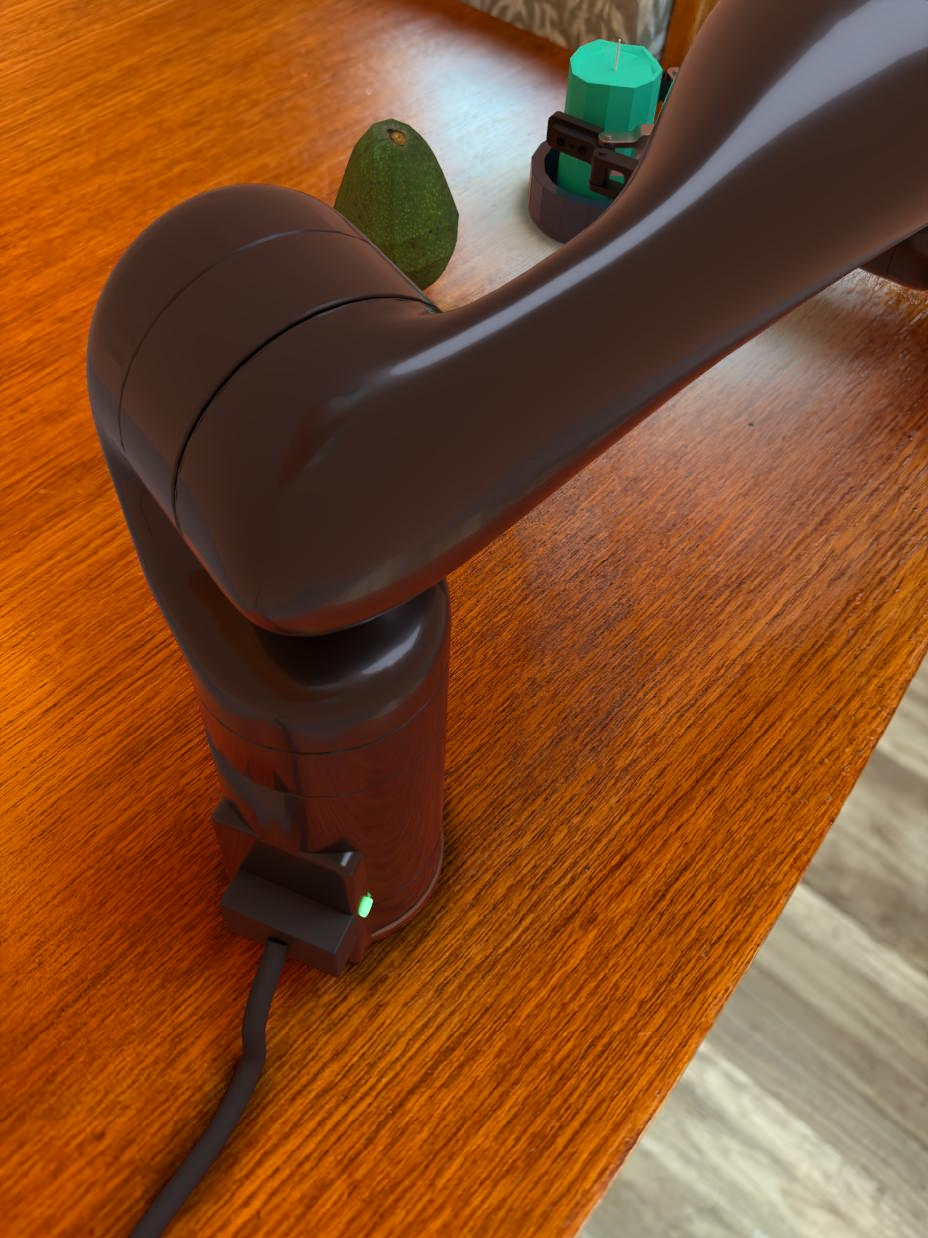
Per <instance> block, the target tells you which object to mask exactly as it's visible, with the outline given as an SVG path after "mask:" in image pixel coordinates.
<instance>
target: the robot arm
mask: <svg viewBox="0 0 928 1238" xmlns="http://www.w3.org/2000/svg"><path fill="white" fill-rule="evenodd" d="M662 70H663V71H662V77H661V83H660V89H659V94H658V100H657V105H658V104H660V103H661V104H660V105H661V107H660V110H659V112H658V114H657V117H656V120H655V121H654V123H653V124H639V125H638V126H636V127H635V129H634V130H632V131H604V128H602V127H600V126H597V125H594V124H592V123H589V122H587V121H584V120H582V119H579V118H576V117H574V116H571V115H569V114H566V113H564V111H560V110H557V111H555V112H553V113H552V114H551V115H550V116H549V117H548V119H547V126H546V137H545V140H546V141H547V143H548V145H549V146H551V147H552V148H553V149H555V150H557V151H559V152H563V153H564V154H567V155H569V156H572V157H574V158H577V159H579V160H582V161H584V162H587V163H589V164H590V165H591V174H590V179H589V186H588V187H589V189H590V190H591V191H592V192H595V193H598V194H600V195H603V196H606V197H609V198H611V199H614V202H613V203H612V204H611V205H610V206H609V207H608V208H607V209H606V210H605V211H604V212H603V213H602V214H601V215H600V216H599V217H598V218H597V219H596V220H595V221H594V222H593V223H592V224H591V225H590V226H588V227H587V228H586V229H584V230H583V231H582V232H580V233H579V234H578V235H576V236H575V237H574V238H573V239H571V240H570V241H569V242H567V243H566V244H563V245H562V246H561V247H559V248H558V249H556V250H555V251H553V252H552V253H550V254H548V255H547V256H546V257H545V258H543V259H542V260H540V261H539V262H538V263H535V264H534V265H533V266H532V267H530V268H528V269H527V270H525V271H524V272H522V273H520V274H519V275H517V276H516V277H514V278H512V279H511V280H509V281H507V282H506V283H505V284H503V285H501V286H500V287H498V288H496V289H494V290H492V291H490V292H488V293H487V294H485V295H483V296H481V297H479V298H477V299H475V300H473V301H472V302H470V303H468V304H464V305H463V306H460V307H457V308H454V309H451V310H447V311H444V310H443V309H441V308H440V306H438V305H437V304H436V302H435V301H433V300H432V299H431V297H429V296H428V294H427V293H426V292H424V290H423V291H422V290H421V289H420V288H419V287H418V286H417V285H416V284H415V283H414V282H413V281H412V280H411V279H410V278H409V277H408V276H407V275H406V274H405V273H404V272H403V271H402V270H401V269H400V268H399V267H398V266H397V265H395V264H394V263H393V262H392V261H391V260H390V259H389V258H388V257H387V256H386V255H385V254H384V253H383V252H382V251H381V250H380V249H379V248H378V247H377V246H376V245H374V244H373V243H372V242H371V241H370V240H369V239H368V238H367V237H366V236H365V235H364V234H363V233H362V232H361V231H360V230H359V229H358V228H357V227H356V226H355V225H354V224H353V223H352V222H351V221H350V220H349V219H347V218H346V217H345V216H344V215H342V214H341V213H339V212H338V211H337V210H335V209H334V208H333V207H332V206H331V205H330V204H329V203H326V202H325V201H323V200H321V199H319V198H317V197H315V196H313V195H311V194H308V193H306V192H304V191H302V190H297V189H294V188H290V187H287V186H282V185H275V184H270V183H256V182H255V183H254V182H250V183H235V184H229V185H225V186H224V185H223V186H221V187H216V188H213V189H209V190H205V191H203V192H200V193H198V194H196V195H193V196H192V197H189V198H186V199H185V200H183V201H182V202H180V203H178V204H176V205H174V206H172V207H170V208H169V209H168V210H166V211H165V212H164V213H162V214H160V216H158V217H156V218H155V219H154V220H153V221H152V222H151V223H149V225H147V226H146V227H145V228H144V229H143V230H141V231H140V233H139V234H138V235H137V236H136V237H135V238H134V239H133V240H132V242H131V243H130V244H129V245H128V246H127V247H126V249H125V250H124V251H123V253H122V254H121V255H120V257H119V258H118V260H117V261H116V263H115V265H114V266H113V268H112V269H111V270H110V272H109V275H108V277H107V279H105V280H106V281H105V282H104V284H103V287H102V289H101V291H100V294H99V296H98V299H97V301H96V304H95V307H94V310H93V315H92V318H91V320H90V326H89V331H88V336H87V343H86V344H87V346H86V356H85V357H86V358H85V359H86V361H85V363H86V364H85V370H86V371H85V375H86V377H85V378H86V387H87V394H88V401H89V406H90V410H91V415H92V419H93V424H94V428H95V430H96V434H97V437H98V438H97V439H98V440H99V444H100V447H101V451H102V454H103V457H104V461H105V463H106V466H107V470H108V473H109V476H110V478H111V481H112V484H113V488H114V490H115V493H116V496H117V499H118V502H119V506H120V509H121V511H122V514H123V517H124V520H125V523H126V526H127V529H128V532H129V535H130V537H131V541H132V543H133V544H132V545H133V547H134V550H135V552H136V556H137V559H138V562H139V565H140V567H141V570H142V573H143V576H144V579H145V581H146V583H147V586H148V588H149V590H150V593H151V595H152V597H153V600H154V601H155V604H156V605H157V608H158V609H159V612H160V614H161V616H162V617H163V620H164V621H165V623H166V625H167V627H168V629H169V631H170V632H171V635H172V636H173V639H174V640H175V643H176V644H177V646H178V648H179V650H180V652H181V654H182V656H183V659H184V661H185V664H186V667H187V671H188V672H187V673H188V675H189V678H190V680H191V683H192V688H193V691H194V694H195V698H196V701H197V705H198V709H199V712H200V713H199V714H200V716H201V721H202V724H203V728H204V732H205V736H206V740H207V742H208V746H209V747H208V748H209V750H210V753H211V754H210V755H211V757H212V761H213V764H214V768H215V773H216V775H217V780H218V783H219V786H220V790H221V794H222V795H221V797H220V799H219V800H218V802H217V803H216V805H215V807H214V808H213V810H212V812H211V814H210V817H209V818H210V821H211V825H212V829H213V831H214V835H215V838H216V841H217V842H216V843H217V845H218V848H219V852H220V855H221V857H222V862H223V865H224V868H225V871H226V875H227V878H228V881H229V884H228V886H227V888H226V889H225V892H224V893H223V894H222V896H221V898H220V900H219V902H218V906H219V909H220V913H221V914H222V918H223V921H224V924H225V927H226V929H227V931H229V932H232V933H234V934H237V935H238V936H241V937H243V938H245V939H247V940H250V941H252V942H254V943H256V944H259V945H261V946H264V948H263V951H262V953H261V957H260V958H259V959H260V960H259V963H258V965H257V969H256V971H255V974H254V977H253V980H252V983H251V986H250V989H249V993H248V996H247V998H246V999H247V1000H246V1002H245V1006H244V1011H243V1015H242V1020H241V1027H240V1029H241V1030H240V1031H241V1033H240V1034H241V1044H242V1052H241V1057H240V1060H239V1062H238V1066H237V1068H236V1071H235V1073H234V1075H233V1078H232V1081H231V1083H230V1084H229V1087H228V1089H227V1091H226V1093H225V1095H224V1097H223V1099H222V1100H221V1103H220V1105H219V1106H218V1108H217V1110H216V1112H215V1113H214V1115H213V1117H212V1119H211V1120H210V1122H209V1123H208V1125H207V1126H206V1128H205V1129H204V1131H203V1132H202V1135H201V1136H200V1137H199V1139H198V1140H197V1141H196V1143H195V1145H194V1146H193V1147H192V1149H191V1150H190V1152H188V1155H187V1156H186V1157H185V1158H184V1160H183V1161H182V1163H181V1164H180V1165H179V1167H178V1168H177V1170H176V1171H175V1172H174V1173H173V1175H172V1176H171V1178H170V1179H169V1180H168V1182H167V1183H166V1184H165V1186H164V1187H163V1188H162V1190H161V1191H160V1192H159V1194H157V1196H156V1198H155V1199H154V1200H153V1202H151V1204H150V1205H149V1207H148V1208H147V1210H146V1211H145V1212H144V1214H143V1215H142V1217H140V1219H139V1220H138V1222H137V1223H136V1225H135V1226H134V1228H133V1229H132V1230H131V1232H130V1233H129V1235H128V1236H127V1238H161V1236H162V1234H163V1233H164V1231H165V1230H166V1229H167V1228H168V1226H169V1225H170V1223H171V1222H172V1221H173V1219H174V1218H175V1216H176V1215H177V1213H178V1212H179V1211H180V1209H181V1208H182V1207H183V1205H184V1204H185V1202H186V1201H187V1200H188V1198H189V1197H190V1195H192V1193H193V1192H194V1190H195V1189H196V1187H197V1186H198V1185H199V1183H200V1182H201V1181H202V1180H203V1178H204V1176H205V1175H206V1174H207V1172H208V1170H209V1169H210V1168H211V1166H212V1165H213V1163H214V1162H215V1161H216V1159H217V1158H218V1156H219V1154H220V1153H221V1152H222V1150H223V1149H224V1147H225V1145H226V1144H227V1142H228V1140H230V1137H231V1135H233V1132H234V1131H235V1129H236V1127H237V1125H238V1123H239V1122H240V1120H241V1118H242V1116H243V1114H244V1112H245V1110H246V1108H247V1106H248V1105H249V1102H250V1100H251V1098H252V1095H253V1093H254V1092H255V1089H256V1087H257V1085H258V1081H259V1079H260V1077H261V1074H262V1072H263V1069H264V1067H265V1063H266V1059H267V1043H266V1029H267V1022H268V1018H269V1015H270V1014H269V1013H270V1010H271V1006H272V1002H273V999H274V995H275V993H276V989H277V987H278V984H279V981H280V978H281V975H282V972H283V969H284V967H285V963H286V960H287V958H288V957H289V958H290V959H293V960H295V961H297V962H299V963H302V964H304V965H306V966H309V967H310V968H313V969H315V970H318V971H320V972H322V973H324V974H326V975H328V976H331V977H333V978H336V979H339V978H340V977H341V975H342V974H343V971H344V969H345V967H346V966H347V965H346V964H347V963H348V962H350V963H352V964H358V963H361V962H362V960H363V959H364V957H365V955H366V952H367V951H368V949H369V948H370V946H371V945H372V944H373V943H376V942H379V941H380V940H384V939H385V938H388V937H389V936H391V935H393V934H395V933H397V932H398V931H399V930H401V929H402V928H404V927H405V926H406V925H408V924H409V923H410V922H411V921H413V920H414V918H415V917H416V916H417V915H418V914H420V912H421V911H422V910H423V909H424V907H425V906H426V904H427V903H428V902H429V900H430V899H431V897H432V896H433V894H434V891H435V890H436V887H437V885H438V883H439V881H440V877H441V873H442V870H443V864H444V852H445V837H444V836H445V835H444V827H443V825H444V824H443V823H444V797H445V772H446V771H445V769H446V750H447V749H446V747H447V728H448V727H447V725H448V724H447V723H448V702H449V701H448V700H449V688H450V687H449V686H450V665H451V664H450V663H451V644H452V643H451V641H452V602H451V601H452V599H451V592H450V587H449V583H448V579H447V577H448V576H449V575H451V574H452V573H453V572H455V571H456V570H458V569H460V567H462V566H464V565H465V564H466V563H468V562H469V561H470V560H471V559H472V558H474V557H475V556H477V555H478V554H479V553H480V552H481V551H483V550H484V549H485V548H487V547H488V546H490V544H492V543H494V541H496V540H497V539H498V538H500V537H501V536H502V535H503V534H505V533H506V532H507V531H508V530H510V529H511V528H512V527H514V526H515V525H516V524H518V523H519V522H520V521H521V520H522V519H524V518H525V517H526V516H528V515H529V514H530V513H531V512H532V511H534V510H535V509H536V508H537V507H538V506H540V505H541V504H542V503H544V502H545V501H546V500H548V499H549V498H550V497H551V496H552V495H554V493H556V492H557V491H558V490H560V489H561V488H562V487H563V486H565V485H566V484H567V483H569V481H571V480H572V479H574V477H576V476H577V475H578V474H579V473H581V472H582V471H583V470H585V469H586V468H587V467H588V466H589V465H591V464H592V463H593V462H594V461H596V460H597V459H598V458H600V457H601V456H602V455H603V454H604V453H606V452H607V451H608V450H609V449H610V448H612V447H613V446H614V445H615V444H617V443H618V442H619V441H621V440H622V439H623V438H624V437H626V435H628V434H629V433H630V432H632V431H633V430H634V429H636V427H638V426H639V425H641V424H642V423H643V422H644V421H645V420H646V419H648V418H649V417H650V416H652V415H653V414H654V413H655V412H656V411H658V410H659V409H661V407H663V406H664V405H666V404H667V403H668V402H669V401H670V400H671V399H673V398H675V396H677V395H678V394H679V393H680V392H681V391H683V390H684V389H686V388H687V387H688V386H690V385H691V384H692V383H694V382H695V381H696V380H697V379H699V378H701V377H702V376H703V375H704V374H705V373H707V372H708V371H710V370H711V369H712V368H713V367H715V366H717V364H719V363H720V362H721V361H722V360H724V359H725V358H728V356H730V355H732V354H733V353H734V352H736V351H737V350H739V349H740V348H741V347H743V346H745V345H746V344H747V343H749V342H750V341H752V340H753V339H755V338H756V337H757V336H759V335H760V334H762V333H763V332H765V331H766V330H768V329H769V328H771V327H772V326H773V325H775V324H777V323H778V322H780V321H781V320H783V319H784V318H786V317H787V316H788V315H789V314H791V313H793V312H794V311H795V310H797V309H798V308H800V307H801V306H803V305H804V304H805V303H807V302H808V301H810V300H812V299H813V298H814V297H816V296H818V295H819V294H820V293H822V292H823V291H825V290H827V289H828V288H830V287H831V286H832V285H834V284H836V283H838V281H840V280H842V279H843V278H845V277H847V276H848V275H849V274H851V273H852V272H855V271H856V270H857V269H859V270H862V271H864V272H867V273H869V274H872V275H874V276H876V277H879V278H881V279H884V280H886V281H889V282H891V283H894V284H896V285H898V286H901V287H904V288H906V289H911V290H914V291H917V292H928V0H718V1H717V3H716V4H715V5H714V7H712V10H711V11H710V12H709V14H708V15H707V17H706V18H705V20H704V22H703V23H702V25H701V26H700V28H699V30H698V31H697V33H696V35H695V36H694V39H693V40H692V43H691V44H690V46H689V48H688V50H687V52H686V54H685V55H684V58H683V59H682V62H681V64H680V65H679V66H672V67H669V68H668V69H667V70H666V69H664V68H662ZM629 148H632V151H631V156H630V157H629V156H626V155H624V154H621V153H618V152H615V150H616V149H629ZM610 176H624V184H623V183H620V182H617V181H614V180H612V179H609V178H610Z"/></svg>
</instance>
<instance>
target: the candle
mask: <svg viewBox="0 0 928 1238" xmlns="http://www.w3.org/2000/svg"><path fill="white" fill-rule="evenodd" d="M621 42H622V40H621V38H619V39H618V42H615V41H610V40H605V39H600V38H598V39H595V40H593V41H591V42H588V43H586V44H583V45H581V46H579V47H578V48H577V49H576V51H575V52H574V53H573V54H572V55H571V57H569V66H568V76H567V84H566V93H565V103H564V111H563V113H566V114H569V115H571V116H574V117H576V118H579V119H582V120H584V121H587V122H589V123H592V124H594V125H597V126H600V127H602V128H604V131H632V130H634V129H635V127H636V126H638V125H639V124H655V116H656V111H657V106H658V104H657V100H658V94H659V89H660V83H661V77H662V71H663V70H662V69H663V68H662V66H661V65H660V63H659V61H658V60H657V58H655V57H654V56H653V55H652V53H651V52H650V51H649V50H648V49H647V48H646V47H645V46H643V45H637V44H635V45H634V44H626V43H621ZM631 151H632V148H629V149H616V150H615V152H618V153H621V154H624V155H626V156H629V157H630V156H631ZM590 174H591V165H590V164H589V163H587V162H584V161H582V160H579V159H577V158H574V157H572V156H569V155H567V154H564V153H563V152H560V156H559V166H558V175H557V184H556V185H557V186H559V187H560V188H562V189H564V190H565V191H567V192H568V193H570V194H574V195H577V196H581V197H584V198H588V199H592V200H614V199H611V198H609V197H606V196H603V195H600V194H598V193H595V192H592V191H591V190H590V189H589V187H588V186H589V179H590ZM609 179H612V180H614V181H617V182H620V183H623V184H624V176H610V178H609Z"/></svg>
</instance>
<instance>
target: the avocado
mask: <svg viewBox="0 0 928 1238" xmlns="http://www.w3.org/2000/svg"><path fill="white" fill-rule="evenodd" d="M332 208H334V209H335V210H337V211H338V212H339V213H341V214H342V215H344V216H345V217H346V218H347V219H349V220H350V221H351V222H352V223H353V224H354V225H355V226H356V227H357V228H358V229H359V230H360V231H361V232H362V233H363V234H364V235H365V236H366V237H367V238H368V239H369V240H370V241H371V242H372V243H373V244H374V245H376V246H377V247H378V248H379V249H380V250H381V251H382V252H383V253H384V254H385V255H386V256H387V257H388V258H389V259H390V260H391V261H392V262H393V263H394V264H395V265H397V266H398V267H399V268H400V269H401V270H402V271H403V272H404V273H405V274H406V275H407V276H408V277H409V278H410V279H411V280H412V281H413V282H414V283H415V284H416V285H417V286H418V287H419V288H420V289H421V290H422V291H423V292H424V291H425V290H427V289H428V288H430V286H432V285H434V284H435V283H436V282H437V281H438V280H439V278H440V277H441V276H442V275H443V274H444V272H445V271H446V269H447V267H448V265H449V263H450V261H451V259H452V257H453V255H454V252H455V249H456V245H457V241H458V234H459V222H460V221H459V220H460V212H459V210H458V208H457V205H456V202H455V200H454V197H453V194H452V191H451V189H450V187H449V183H448V181H447V178H446V176H445V173H444V170H443V169H442V167H441V164H440V163H439V160H438V159H437V157H436V153H434V151H433V150H432V148H431V146H430V145H429V143H428V141H427V140H426V139H425V138H424V136H422V135H421V134H420V133H419V132H418V131H417V130H416V129H415V128H413V127H412V126H411V125H410V124H409V123H405V122H402V121H400V120H397V119H395V118H392V117H390V118H387V119H384V120H380V121H376V122H373V123H372V124H371V125H370V127H368V129H367V130H366V131H365V132H364V133H363V134H362V135H361V137H359V139H358V140H357V142H356V143H355V145H354V146H353V148H352V151H351V153H350V155H349V158H348V161H347V164H346V167H345V170H344V173H343V176H342V178H341V182H340V185H339V187H338V191H337V194H336V197H335V200H334V204H333V207H332Z"/></svg>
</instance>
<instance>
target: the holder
mask: <svg viewBox="0 0 928 1238" xmlns="http://www.w3.org/2000/svg"><path fill="white" fill-rule="evenodd" d="M559 156H560V152H559V151H557V150H555V149H553V148H552V147H551V146H549V145H548V143H547V141H546V139H545V140H544V141H542V142H541V143H539V145H538V147H537V148H536V150H535V151H534V152H533V154H532V155H531V158H530V169H529V181H528V193H527V196H528V197H527V198H528V199H527V200H528V201H527V210H528V214H529V217H530V219H531V221H532V223H533V224H534V225H535V227H536V228H537V229H538V231H540V232H541V233H543V234H544V235H545V236H547V237H549V238H550V239H552V240H553V241H555V242H557V243H560V244H563V245H565V244H566V243H567V242H569V241H570V240H571V239H573V238H574V237H575V236H576V235H578V234H579V233H580V232H582V231H583V230H584V229H586V228H587V227H588V226H590V225H591V224H592V223H593V222H594V221H595V220H596V219H597V218H598V217H599V216H600V215H601V214H602V213H603V212H604V211H605V210H606V209H607V208H608V207H609V206H610V205H611V204H612V203H613V202H614V200H592V199H588V198H584V197H581V196H577V195H574V194H570V193H568V192H567V191H565V190H564V189H562V188H560V187H559V186H557V185H556V184H557V175H558V166H559Z"/></svg>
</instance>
